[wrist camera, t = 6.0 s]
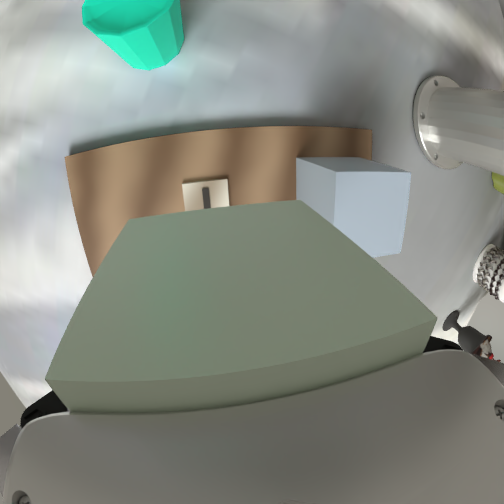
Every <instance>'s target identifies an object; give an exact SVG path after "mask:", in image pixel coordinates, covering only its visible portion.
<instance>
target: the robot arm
mask: <svg viewBox="0 0 504 504" xmlns="http://www.w3.org/2000/svg"><path fill="white" fill-rule="evenodd" d="M413 120H414V128H415V133H416V137H417V140H418V143H419V146H420V148H421V150H422V152H423V153H424V155H425V156H426V158H427V159H428V160H429V161H430V162H431V163H432V164H434V165H435V166H437V167H440V168H443V169H449V170H450V169H454V168H456V167H458V166H460V165H461V164H462V163H463V162H464V163H467V164H470V165H473V166H477V167H480V168H483V169H486V170H488V171H491V172H494V173H497V174H500V175H502V176H504V91H500V90H491V89H479V88H461V87H460V86H459V85H458V84H457V83H456V82H455V81H453V80H452V79H450V78H448V77H445V76H432V77H429V78H427V79H425V80H424V81H423V82H422V84H421V85H420V87H419V88H418V90H417V93H416V96H415V100H414V107H413ZM0 492H1V494H2V496H3V504H504V364H503V363H501V362H499V361H495V360H492V359H489V358H486V357H482V356H479V355H476V354H473V353H469V352H465V351H463V349H462V348H461V347H460V346H459V345H457V344H456V343H454V342H451V341H448V340H444V339H440V338H436V337H433V336H430V338H429V340H428V342H427V345H426V347H425V349H424V351H423V353H422V354H419V355H416V356H413V357H410V358H408V359H405V360H402V361H399V362H397V363H394V364H391V365H388V366H385V367H383V368H380V369H377V370H374V371H371V372H368V373H365V374H362V375H359V376H356V377H353V378H350V379H347V380H343V381H340V382H336V383H333V384H329V385H326V386H322V387H318V388H315V389H311V390H307V391H303V392H299V393H294V394H290V395H285V396H281V397H276V398H271V399H266V400H261V401H255V402H249V403H243V404H237V405H230V406H222V407H214V408H205V409H195V410H183V411H168V412H142V413H116V412H70V411H69V410H68V408H67V407H66V406H65V405H64V404H63V402H62V401H61V400H60V399H59V397H58V396H57V395H56V393H55V392H54V391H53V390H52V391H51V392H49V393H48V394H47V395H45V396H44V397H42V398H41V399H39V400H38V401H36V402H35V403H33V404H32V405H31V406H29V407H28V408H27V409H26V410H25V411H24V413H23V414H22V417H21V425H20V426H18V425H17V424H16V425H14V426H13V427H12V428H11V429H9V430H8V431H7V432H6V433H5V434H3V435H2V436H1V437H0Z"/></svg>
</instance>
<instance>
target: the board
mask: <svg viewBox="0 0 504 504" xmlns="http://www.w3.org/2000/svg"><path fill="white" fill-rule="evenodd" d="M300 157H360V158H364V159H368V160H371V159H372V130H369V129H357V128H342V127H320V126H265V127H243V128H227V129H215V130H205V131H195V132H187V133H179V134H171V135H165V136H158V137H152V138H146V139H140V140H135V141H129V142H124V143H119V144H115V145H110V146H106V147H101V148H97V149H93V150H89V151H85V152H81V153H77V154H73V155H70V156H66V157H65V163H66V169H67V175H68V181H69V187H70V192H71V197H72V202H73V207H74V211H75V216H76V220H77V224H78V228H79V232H80V236H81V239H82V243H83V247H84V250H85V254H86V257H87V260H88V264H89V267H90V270H91V273H92V276H93V277H94V275H95V273H96V271H97V270H98V268H99V266H100V265H101V263H102V261H103V260H104V258H105V256H106V255H107V253H108V251H109V250H110V248H111V246H112V245H113V243H114V242H115V240H116V239H117V237H118V235H119V234H120V232H121V231H122V229H123V228H124V226H125V225H126V223H127V222H128V220H129V219H135V218H141V217H148V216H155V215H162V214H169V213H177V212H184V211H192V210H200V209H209V208H217V207H226V206H236V205H245V204H255V203H266V202H277V201H289V200H296V158H300Z"/></svg>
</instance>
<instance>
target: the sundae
mask: <svg viewBox="0 0 504 504" xmlns="http://www.w3.org/2000/svg"><path fill="white" fill-rule="evenodd" d="M458 317H459V312H458V311H454V312H452V313H451V314H450V315H449V316H448V317H447V319H446V320H445V322H444V324H443V330H444V331H447V330H449V329H450V328H451V327H453V328H455V329H456V330H457V331H458V333H459V334H458V342H459V344H460V346H461V347H462V349H463V350H464V351H465V352H469V353H473V354H476V355H479V356H482V357H486V358H489V359H493V353H492V351H491V345H490V341H491V339H492V337H491V336H490V335H487V336H485V335H483V334H481V333H480V332H479V331H477V330H476V329H474V328H472V327H471V326H466V327H461V326H460V325H459V324H458V323H457V319H458ZM493 360H494V359H493ZM495 361H499V362H500V361H501V360H495Z"/></svg>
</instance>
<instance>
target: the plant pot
mask: <svg viewBox="0 0 504 504" xmlns="http://www.w3.org/2000/svg"><path fill="white" fill-rule="evenodd" d="M492 180H493V183H494V185H493V186H494V188H495V189H496V190H498V191H499V192H501V193H502V194H504V176H502V175H500V174H497V173H494V172H492Z"/></svg>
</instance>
